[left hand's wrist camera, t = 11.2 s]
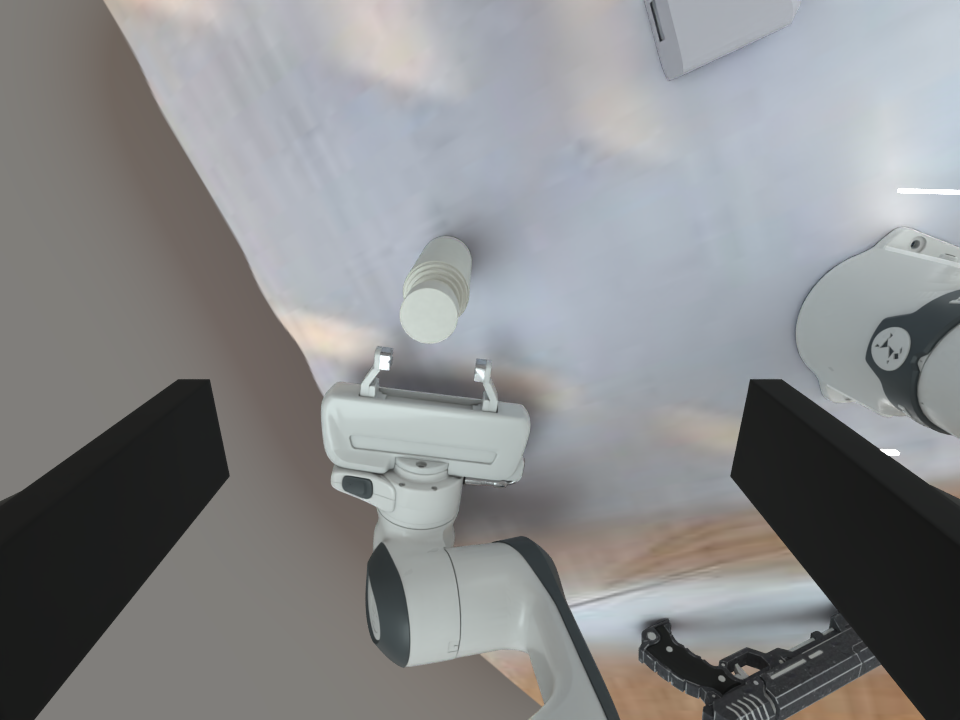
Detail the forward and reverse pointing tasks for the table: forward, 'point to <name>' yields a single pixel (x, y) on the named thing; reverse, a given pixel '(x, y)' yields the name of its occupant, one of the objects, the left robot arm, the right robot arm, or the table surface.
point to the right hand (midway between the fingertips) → (434, 355)
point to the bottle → (444, 268)
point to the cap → (429, 312)
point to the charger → (711, 28)
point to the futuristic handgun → (761, 672)
